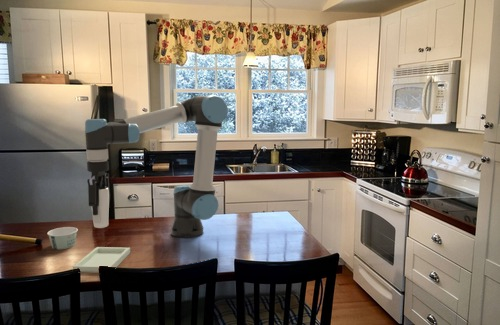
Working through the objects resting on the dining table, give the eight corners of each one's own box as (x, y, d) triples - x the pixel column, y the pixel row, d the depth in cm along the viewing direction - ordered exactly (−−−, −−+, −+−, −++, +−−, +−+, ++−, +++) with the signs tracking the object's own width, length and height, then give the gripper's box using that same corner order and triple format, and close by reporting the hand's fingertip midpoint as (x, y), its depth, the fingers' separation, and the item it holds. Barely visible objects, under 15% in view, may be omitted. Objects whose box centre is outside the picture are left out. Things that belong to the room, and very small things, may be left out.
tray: (130, 252, 164) (130, 247, 164) (110, 273, 144) (110, 267, 144) (97, 252, 165) (96, 247, 165) (73, 272, 145) (72, 266, 145)
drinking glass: (104, 229, 149) (102, 190, 146) (88, 228, 150) (85, 189, 148) (114, 224, 155) (112, 186, 153) (98, 223, 156) (96, 185, 154)
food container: (67, 251, 166) (66, 236, 165) (42, 249, 168) (40, 234, 167) (84, 241, 178) (83, 227, 177) (60, 240, 180) (59, 226, 179)
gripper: (99, 157, 159) (102, 213, 162) (75, 164, 140) (79, 227, 143) (117, 157, 158) (120, 213, 161) (96, 164, 139) (99, 228, 142)
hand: (101, 220), depth 152 cm, fingers closed on drinking glass, 6 cm apart
